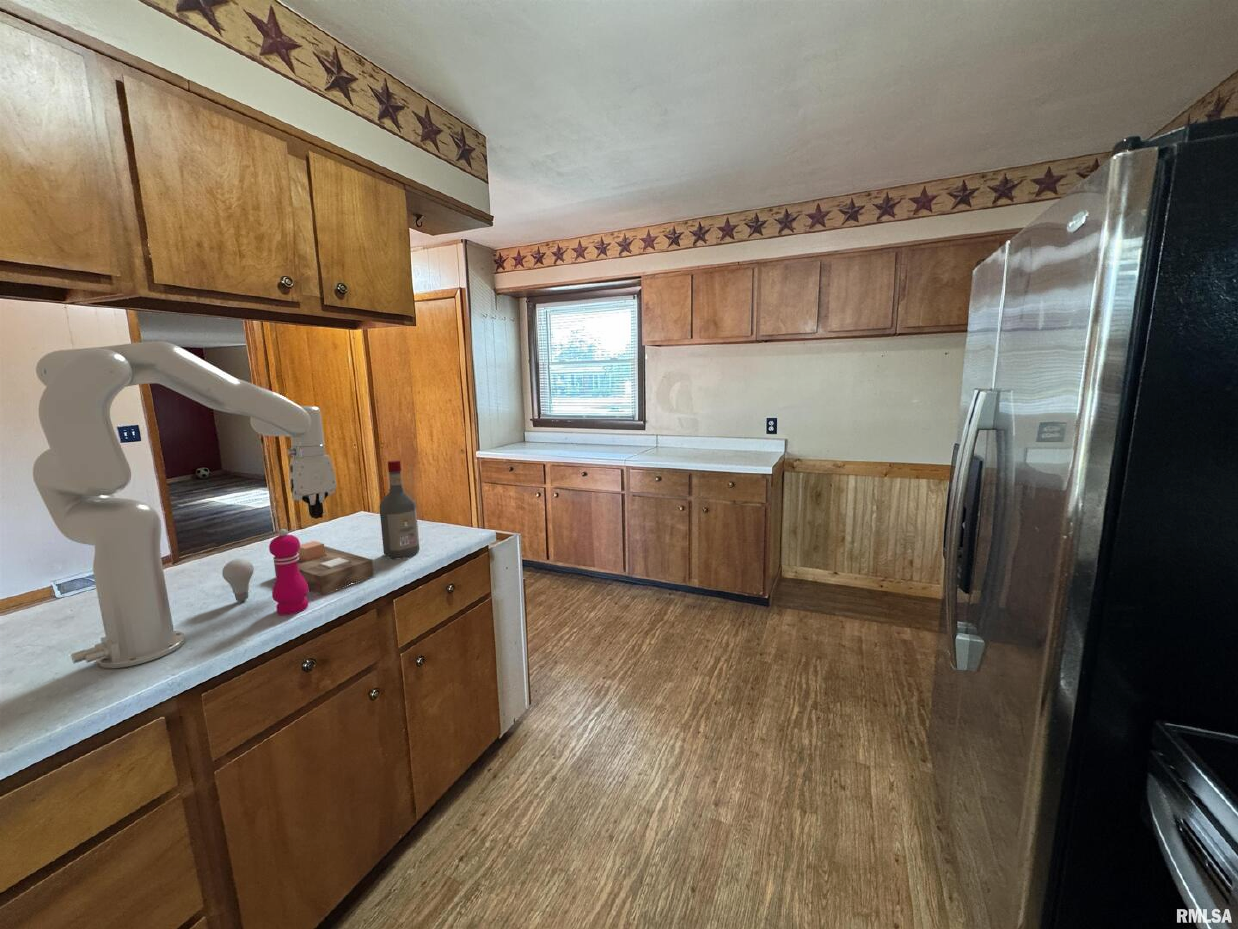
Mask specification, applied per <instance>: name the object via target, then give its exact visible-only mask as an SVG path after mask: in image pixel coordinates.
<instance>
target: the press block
mask: <svg viewBox="0 0 1238 929" xmlns="http://www.w3.org/2000/svg"><path fill="white" fill-rule="evenodd" d="M324 549H325V556H323V557H320V558H316V559H313V560H310V561H303V560H298V568H299V571H300V573H301V575H302V576H303V578H304V579H305V580H306V582H307V584H308V588H309V591H311V592H313V591H314V592H313V593H317V594H319V595H321V596H324V595H327V594H329V592H330V593H332V592H331V591H333V592H335V591H337V590H336V589H338V590H340V589H341V590H342V589H344V588H346V587H348V586H347V585H349V584H351V583H355V584H357V583H359V582H358V581H360V582H362V581H361V580H363V581H365V580H364V579H366V578H369V577H371V578H374V577H375V574H374V565H373V559H371V558H368V557H364V556H360V555H358V554H354V553H351V552H346V551H343V550H339V549H336V548H333V547H330V546H326V545H324ZM337 558H341V559H344V560H348V561H349V563H348V564H345V565H342V566H339V567H336V568H333V569H327V568H324V567H321V565H320V563H324V562H327V561H330V560H333V559H337ZM273 564H274V563H273ZM274 574H275V579H276V578H277V566H276V564H274ZM369 579H370V578H369ZM366 580H367V579H366ZM356 582H357V583H356ZM345 586H346V587H345ZM349 586H350V585H349ZM343 587H344V588H343ZM334 590H335V591H334Z"/></svg>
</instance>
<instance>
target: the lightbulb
mask: <svg viewBox="0 0 1238 929" xmlns="http://www.w3.org/2000/svg"><path fill="white" fill-rule="evenodd" d="M221 572H222V573H221V574H222V577H223V579H224V580H225V582H227V583H228V585H229V586H230V587H231V589H232V593H233V594H234V597H235V598H234V599H235V600H236V601H237V602H241V603H243V602H245V601H246V600H247V599H248V598H249V590H250V581H251V579H252V577H253V574H254V565H253V564H252V562H251V561H250V560H248V559H245V558H234V559H232V560H230V561H229V562H227V563H225V565H224V567H223V569H222V571H221Z"/></svg>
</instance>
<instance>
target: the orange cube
mask: <svg viewBox="0 0 1238 929" xmlns="http://www.w3.org/2000/svg"><path fill="white" fill-rule="evenodd" d="M324 546H325V543H323V542H320V541H315V540H313V541H311V542H305V543H302V544H301V543H300V548H299V550H298V551H297V553H298V554H299V555H298V556H299V560H303V561H310V560H313V559H316V558H320V557H323V556H325V549H324Z"/></svg>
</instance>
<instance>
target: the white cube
mask: <svg viewBox="0 0 1238 929" xmlns="http://www.w3.org/2000/svg"><path fill="white" fill-rule="evenodd" d="M348 563H349V561H348V560H344V559H341V558H337V559H333V560H330V561H327V562H324V563H320V565H321V567H324V568H327V569H333V568H336V567H339V566H342V565H345V564H348Z"/></svg>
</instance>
